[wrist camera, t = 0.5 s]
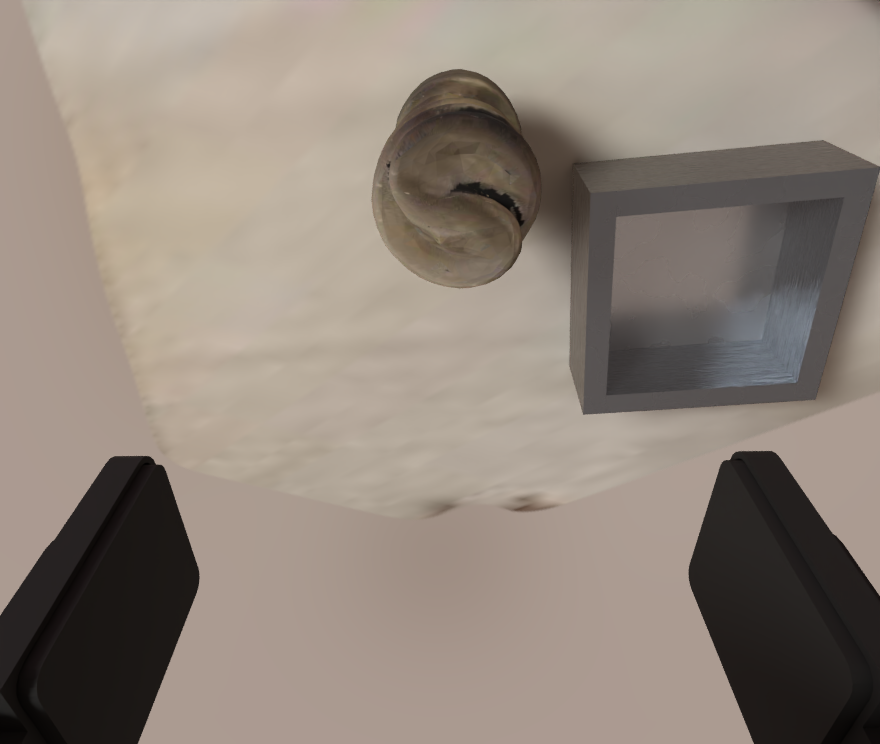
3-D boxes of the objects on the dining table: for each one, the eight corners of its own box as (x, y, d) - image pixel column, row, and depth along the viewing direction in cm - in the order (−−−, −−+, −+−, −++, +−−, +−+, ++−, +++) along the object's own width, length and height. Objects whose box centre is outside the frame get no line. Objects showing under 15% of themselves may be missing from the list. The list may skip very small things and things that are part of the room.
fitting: (823, 140, 31) (880, 167, 27) (775, 351, 38) (815, 399, 34) (573, 163, 32) (590, 193, 28) (569, 366, 39) (583, 414, 34)
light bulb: (506, 176, 32) (538, 308, 20) (401, 173, 32) (366, 302, 20) (516, 55, 29) (561, 121, 17) (400, 52, 29) (358, 115, 17)
